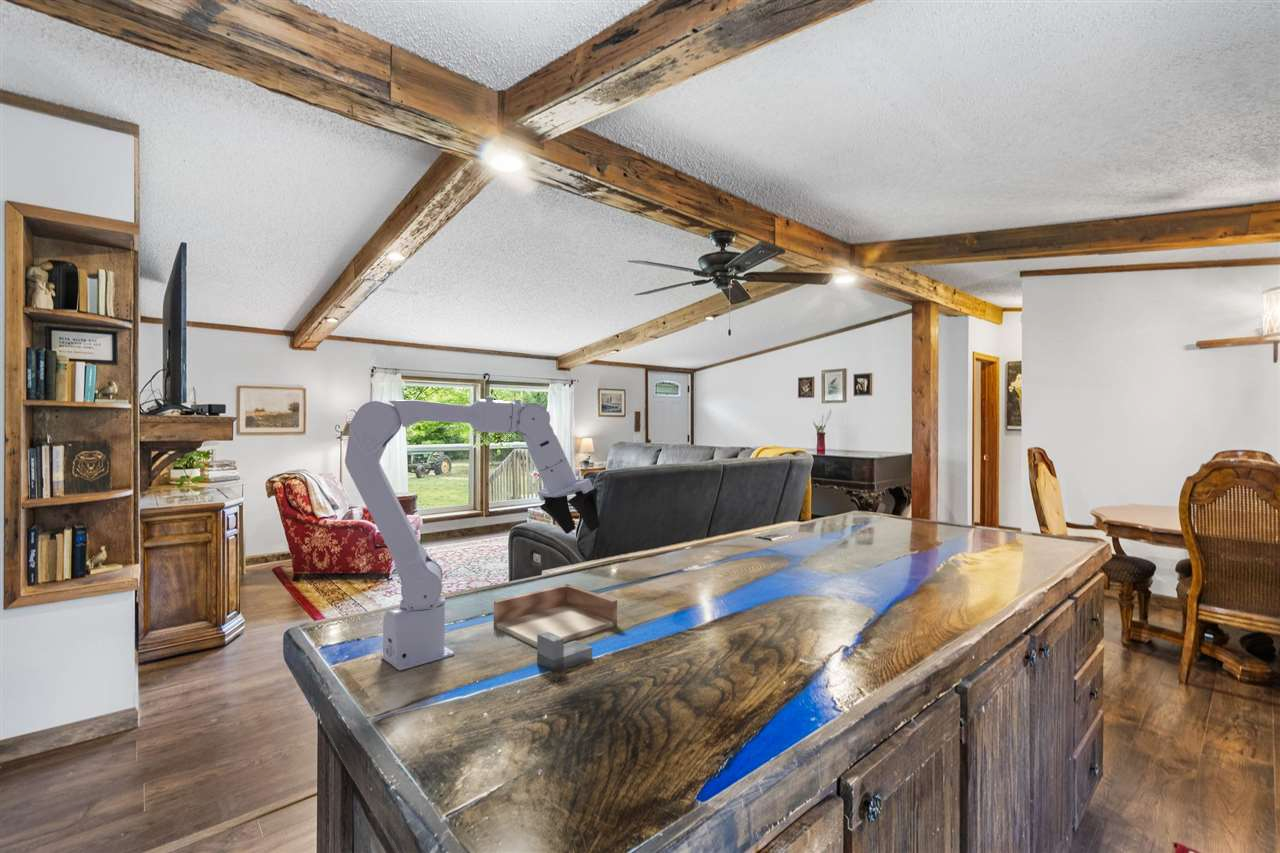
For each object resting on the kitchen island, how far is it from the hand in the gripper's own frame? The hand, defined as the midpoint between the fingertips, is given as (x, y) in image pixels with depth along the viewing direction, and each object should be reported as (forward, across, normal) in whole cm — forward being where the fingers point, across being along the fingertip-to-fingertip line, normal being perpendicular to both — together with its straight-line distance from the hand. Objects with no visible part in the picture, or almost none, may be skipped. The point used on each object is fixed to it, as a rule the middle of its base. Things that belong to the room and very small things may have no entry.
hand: (582, 529), depth 108 cm
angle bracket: (+16, -3, +16) cm, 23 cm away
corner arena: (+16, +12, +7) cm, 22 cm away
